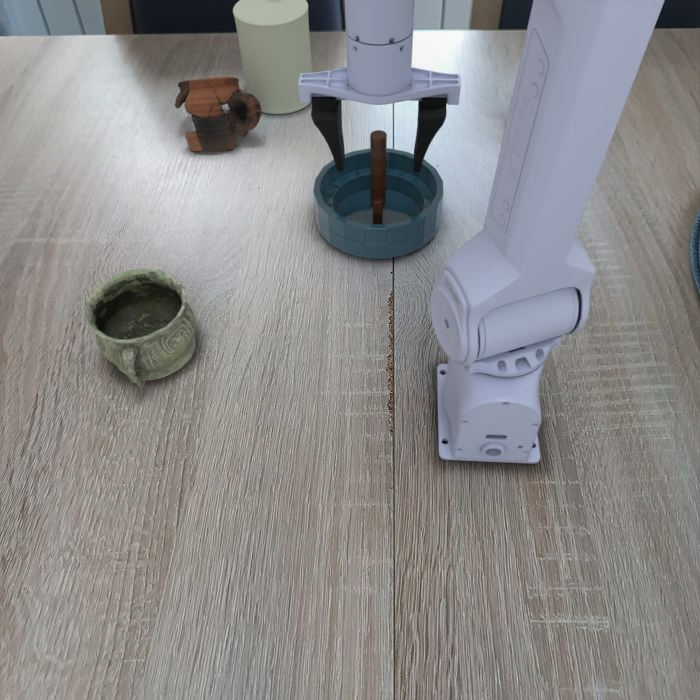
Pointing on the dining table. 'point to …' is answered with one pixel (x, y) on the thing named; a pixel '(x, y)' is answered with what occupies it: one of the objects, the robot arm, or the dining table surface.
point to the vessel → (143, 323)
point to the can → (274, 51)
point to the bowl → (398, 214)
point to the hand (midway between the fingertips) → (378, 165)
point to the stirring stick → (378, 173)
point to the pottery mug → (217, 112)
